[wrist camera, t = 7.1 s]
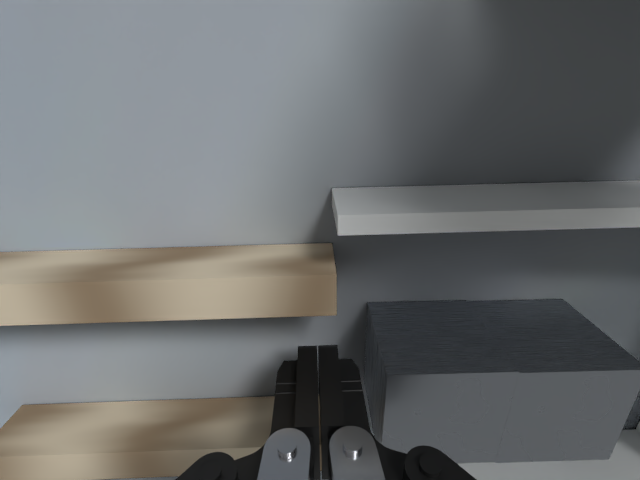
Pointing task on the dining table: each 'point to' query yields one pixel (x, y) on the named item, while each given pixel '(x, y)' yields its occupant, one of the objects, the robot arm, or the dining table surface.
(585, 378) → the dark gray cube
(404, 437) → the dark gray rectangular block
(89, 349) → the dining table surface
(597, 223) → the tray
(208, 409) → the slotted rail
